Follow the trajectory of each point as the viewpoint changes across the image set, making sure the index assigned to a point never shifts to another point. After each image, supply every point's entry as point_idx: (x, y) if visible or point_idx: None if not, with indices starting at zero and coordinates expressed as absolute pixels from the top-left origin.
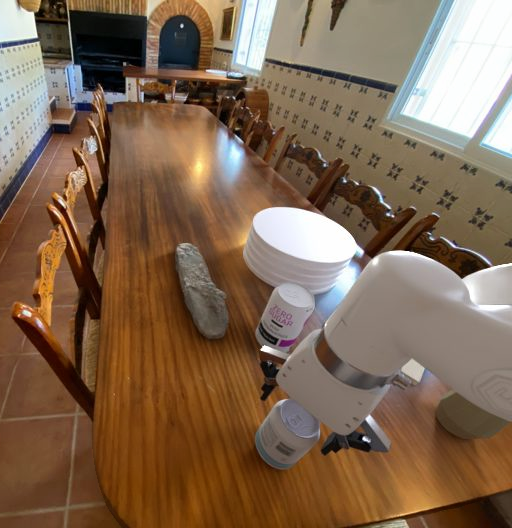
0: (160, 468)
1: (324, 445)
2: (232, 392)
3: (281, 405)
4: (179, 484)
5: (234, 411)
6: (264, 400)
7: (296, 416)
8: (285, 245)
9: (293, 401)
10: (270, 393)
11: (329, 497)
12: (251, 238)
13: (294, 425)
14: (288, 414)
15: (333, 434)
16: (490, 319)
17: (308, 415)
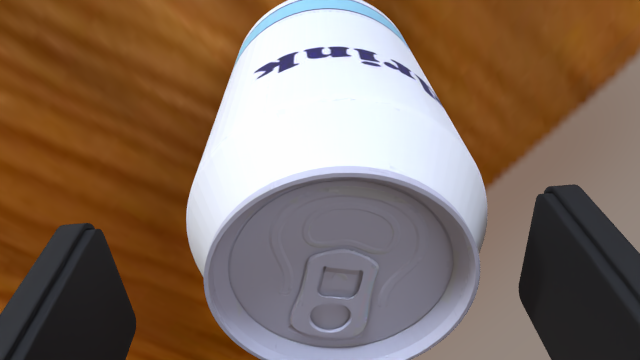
0: (159, 356)
1: (536, 298)
2: (41, 31)
3: (214, 315)
4: (216, 344)
5: (124, 92)
6: (131, 335)
7: (323, 270)
8: None
9: (244, 214)
10: (108, 304)
11: (559, 48)
12: None
13: (345, 321)
14: (281, 298)
15: (587, 320)
16: None
17: (377, 209)
